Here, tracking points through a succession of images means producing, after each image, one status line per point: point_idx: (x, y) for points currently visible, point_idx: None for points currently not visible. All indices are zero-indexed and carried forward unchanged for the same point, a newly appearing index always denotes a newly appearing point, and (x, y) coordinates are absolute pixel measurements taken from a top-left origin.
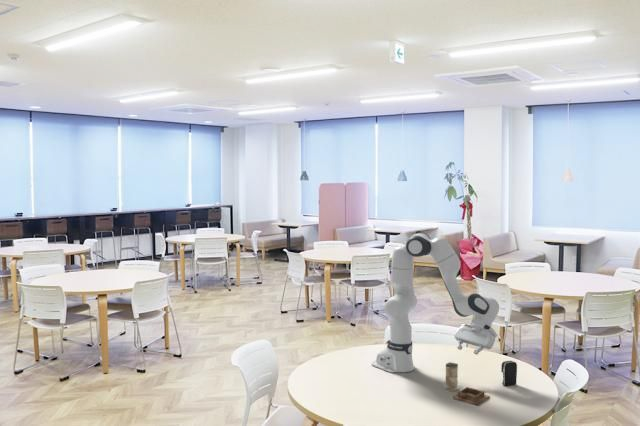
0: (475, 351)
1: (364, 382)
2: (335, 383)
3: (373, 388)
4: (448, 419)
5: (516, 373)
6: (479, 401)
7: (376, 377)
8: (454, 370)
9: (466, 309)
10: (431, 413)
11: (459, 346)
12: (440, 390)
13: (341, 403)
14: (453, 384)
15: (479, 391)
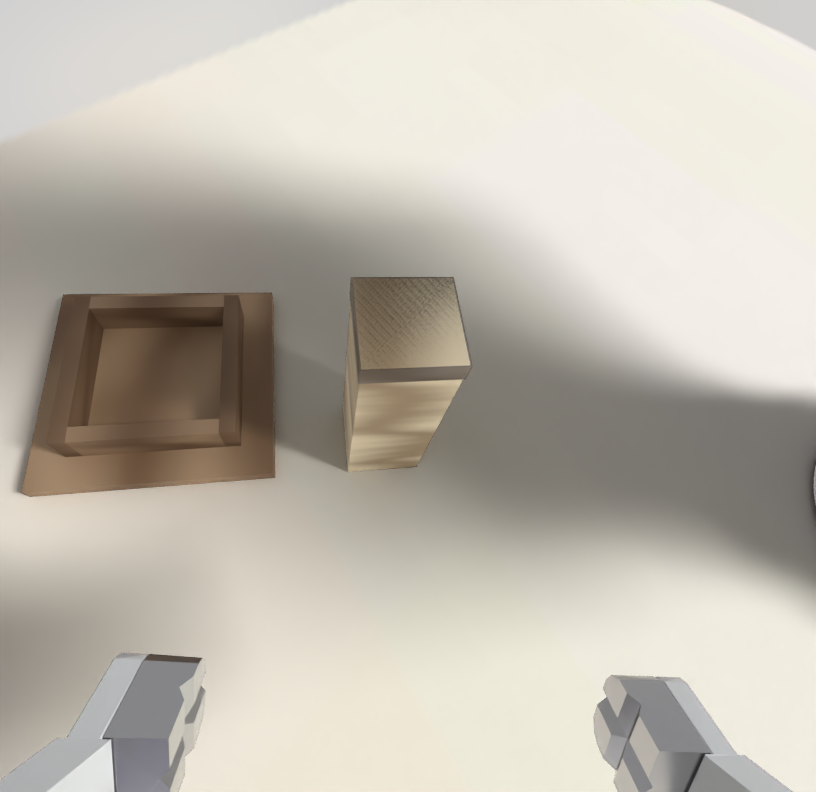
0: (141, 677)
1: (751, 206)
2: (790, 135)
3: (662, 176)
4: (153, 89)
5: None
6: (65, 335)
7: (794, 290)
8: (351, 331)
9: None
10: (261, 101)
11: (661, 707)
12: None
13: (591, 25)
14: (344, 386)
15: (97, 427)
